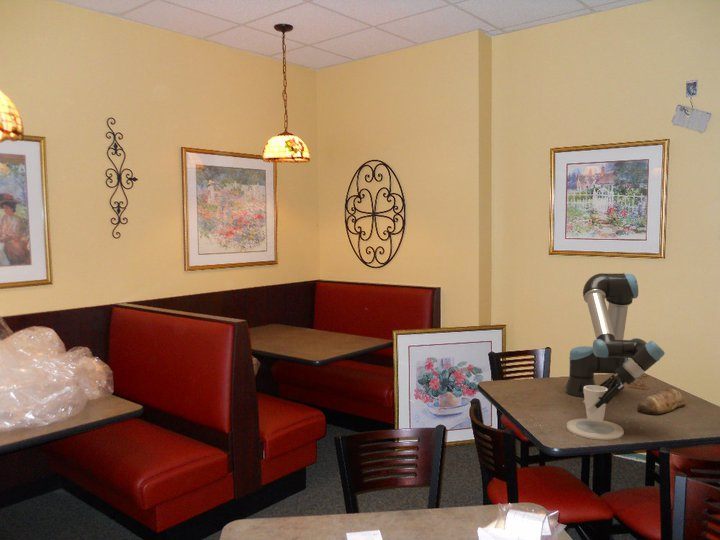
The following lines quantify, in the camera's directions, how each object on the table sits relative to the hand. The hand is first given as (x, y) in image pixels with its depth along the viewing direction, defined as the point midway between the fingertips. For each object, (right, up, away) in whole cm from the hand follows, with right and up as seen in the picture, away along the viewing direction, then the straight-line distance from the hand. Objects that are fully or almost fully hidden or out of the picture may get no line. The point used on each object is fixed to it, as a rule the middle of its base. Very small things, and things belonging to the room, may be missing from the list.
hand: (587, 407), depth 241 cm
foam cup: (+3, -5, 0) cm, 6 cm away
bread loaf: (+46, -8, +28) cm, 54 cm away
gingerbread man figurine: (+51, -4, +61) cm, 79 cm away
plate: (+3, -9, 0) cm, 10 cm away
